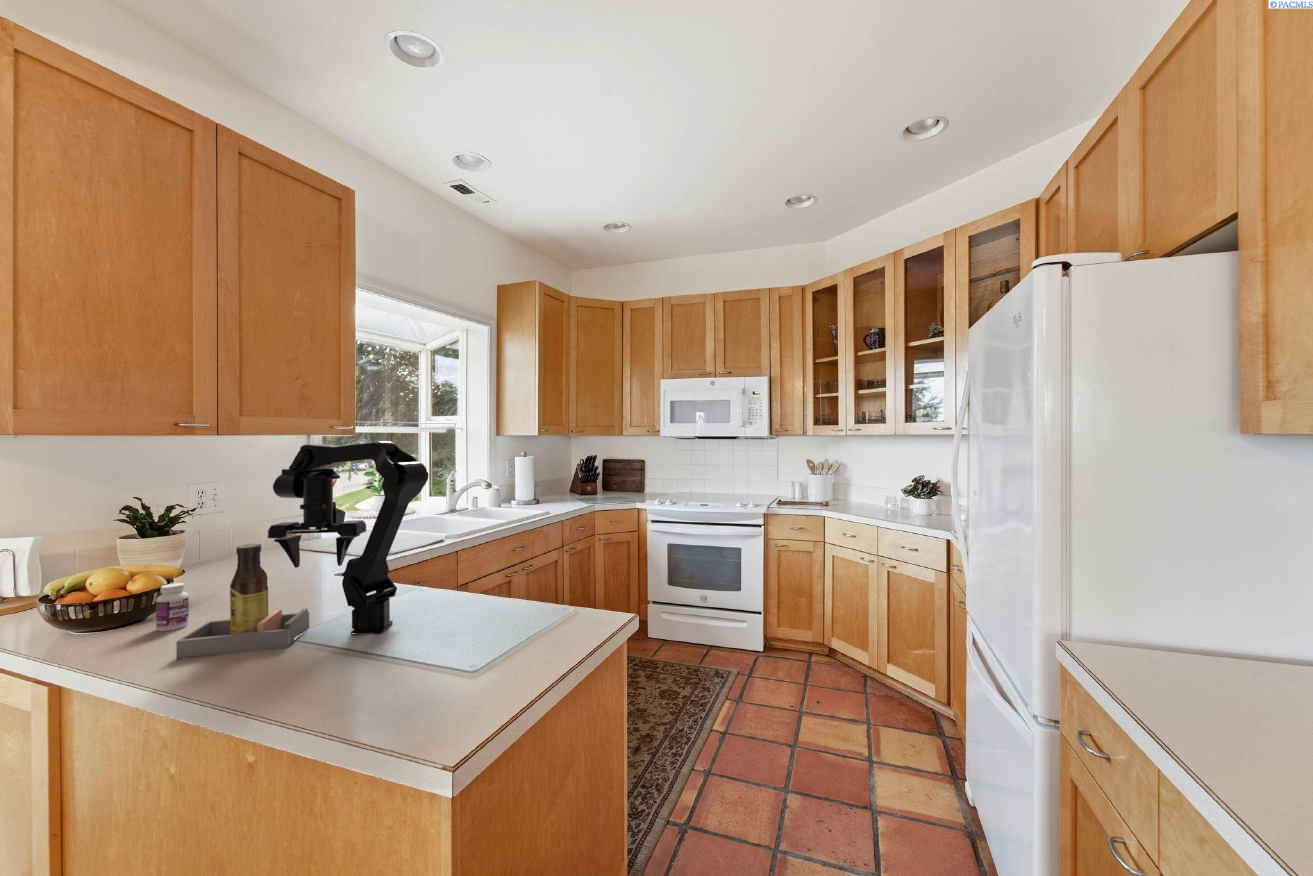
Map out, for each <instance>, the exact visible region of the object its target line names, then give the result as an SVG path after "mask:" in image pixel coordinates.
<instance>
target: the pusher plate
mask: <svg viewBox="0 0 1313 876" xmlns="http://www.w3.org/2000/svg"><path fill="white" fill-rule="evenodd" d="M282 614H283V609H282V608H277V609H276V610H273V612H271V613H270V614H268V615H269V616H267V617H266V618H265V619H263V620H262V621H261V622H259V623H258V624H257V632H260V631H270V630H280V629H282Z"/></svg>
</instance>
